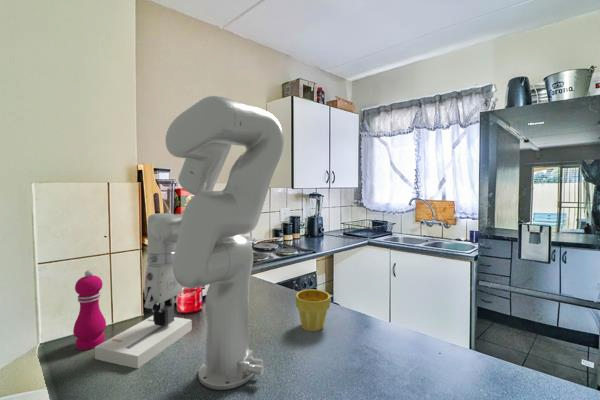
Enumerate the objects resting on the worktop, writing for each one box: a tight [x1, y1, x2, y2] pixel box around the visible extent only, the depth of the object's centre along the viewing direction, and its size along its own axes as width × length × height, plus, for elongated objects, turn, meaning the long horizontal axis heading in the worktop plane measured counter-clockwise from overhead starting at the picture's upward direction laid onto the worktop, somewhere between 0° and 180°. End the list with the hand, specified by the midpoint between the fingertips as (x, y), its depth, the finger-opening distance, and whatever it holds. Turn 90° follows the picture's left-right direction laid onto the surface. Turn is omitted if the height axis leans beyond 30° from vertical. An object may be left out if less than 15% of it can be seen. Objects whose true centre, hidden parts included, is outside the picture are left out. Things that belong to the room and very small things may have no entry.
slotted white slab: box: [94, 315, 193, 369], centre depth 82 cm, size 13×20×3 cm, turn 163°
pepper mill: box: [72, 269, 107, 351], centre depth 81 cm, size 7×7×20 cm
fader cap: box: [152, 304, 175, 325], centre depth 86 cm, size 5×2×5 cm, turn 73°
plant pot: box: [295, 289, 331, 332], centre depth 93 cm, size 10×10×10 cm
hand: (163, 321), depth 86 cm, fingers closed on fader cap, 2 cm apart
